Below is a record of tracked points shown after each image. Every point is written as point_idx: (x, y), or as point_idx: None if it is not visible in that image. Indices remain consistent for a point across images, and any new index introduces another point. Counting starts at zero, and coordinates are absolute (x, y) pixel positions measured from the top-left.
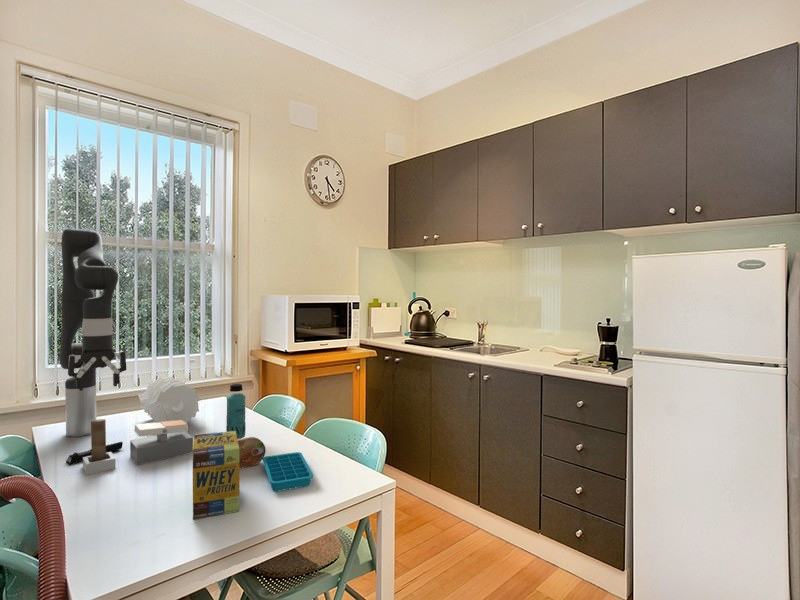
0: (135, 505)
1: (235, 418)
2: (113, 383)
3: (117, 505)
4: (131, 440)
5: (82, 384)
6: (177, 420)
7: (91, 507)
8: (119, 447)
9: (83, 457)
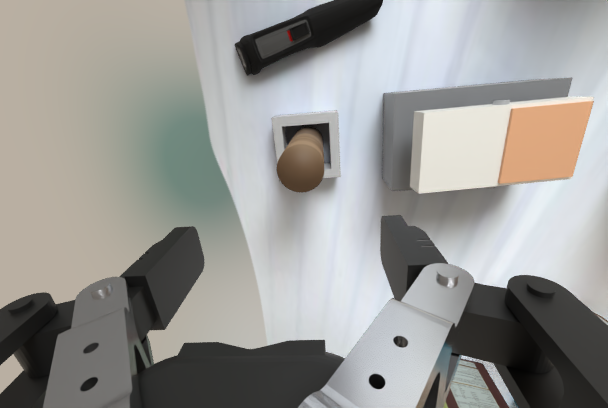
0: (343, 342)
1: None
2: (384, 233)
3: (322, 329)
4: (397, 100)
5: (188, 291)
6: (575, 106)
7: (290, 316)
8: (369, 18)
9: (273, 120)
